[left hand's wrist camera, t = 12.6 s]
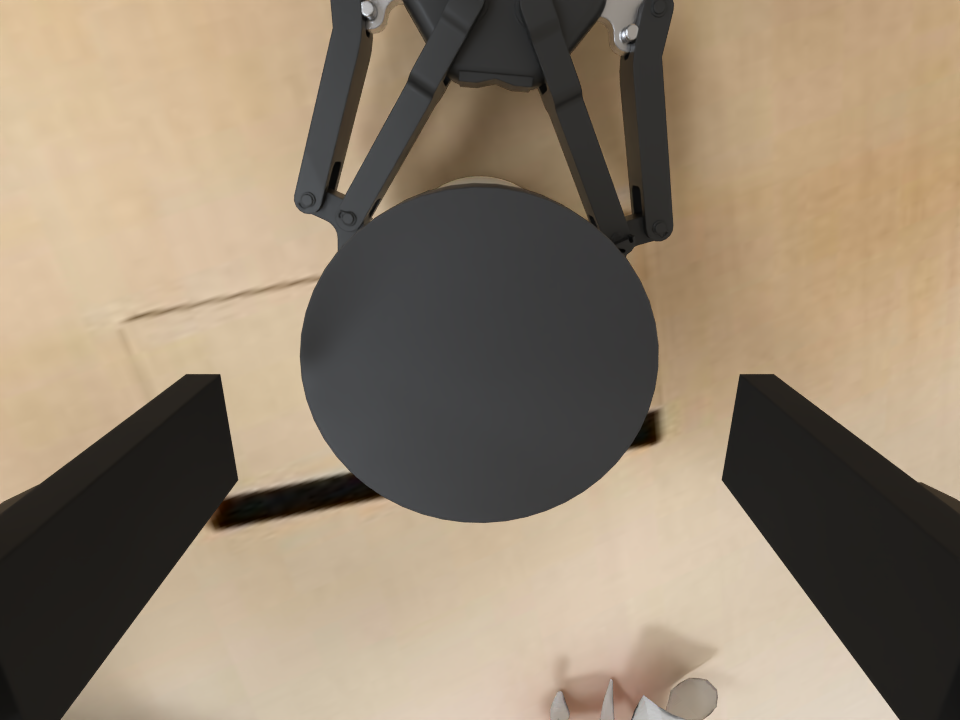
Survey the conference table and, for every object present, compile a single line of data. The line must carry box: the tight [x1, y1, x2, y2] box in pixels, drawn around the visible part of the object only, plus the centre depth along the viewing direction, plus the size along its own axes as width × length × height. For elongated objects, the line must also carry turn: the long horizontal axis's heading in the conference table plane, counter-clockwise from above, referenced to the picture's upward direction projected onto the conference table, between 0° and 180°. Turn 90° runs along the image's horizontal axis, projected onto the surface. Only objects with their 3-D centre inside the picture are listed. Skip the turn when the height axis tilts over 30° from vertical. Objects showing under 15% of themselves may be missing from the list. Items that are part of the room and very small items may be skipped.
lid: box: [300, 183, 658, 523], centre depth 17 cm, size 10×10×2 cm
